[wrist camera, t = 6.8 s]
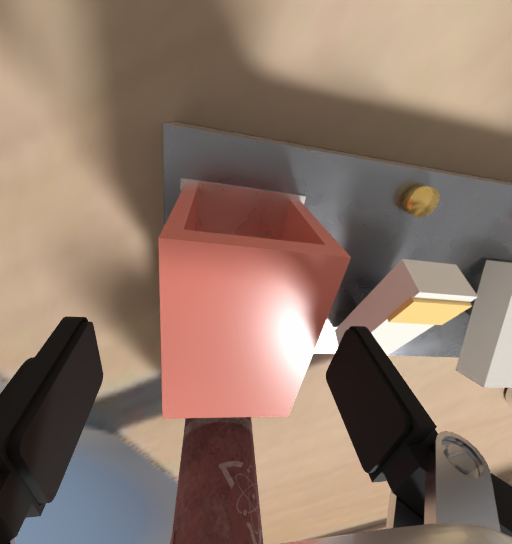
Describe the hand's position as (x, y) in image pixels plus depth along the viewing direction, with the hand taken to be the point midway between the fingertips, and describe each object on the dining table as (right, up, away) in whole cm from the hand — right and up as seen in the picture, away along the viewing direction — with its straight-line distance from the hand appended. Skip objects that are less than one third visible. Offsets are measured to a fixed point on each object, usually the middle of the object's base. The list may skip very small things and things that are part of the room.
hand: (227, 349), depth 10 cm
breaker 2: (+18, 0, +7) cm, 19 cm away
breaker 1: (+9, 0, +6) cm, 11 cm away
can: (-3, -10, +17) cm, 20 cm away
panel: (+8, +4, +10) cm, 13 cm away
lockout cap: (0, +3, +6) cm, 6 cm away
